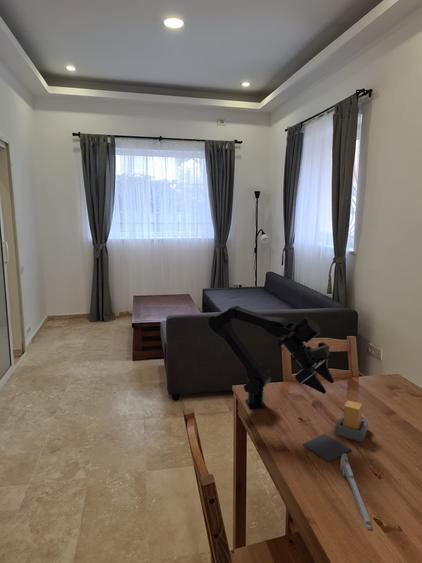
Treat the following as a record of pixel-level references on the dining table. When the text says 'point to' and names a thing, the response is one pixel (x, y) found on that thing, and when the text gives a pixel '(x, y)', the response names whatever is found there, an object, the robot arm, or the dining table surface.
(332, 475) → the dining table surface
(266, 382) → the robot arm
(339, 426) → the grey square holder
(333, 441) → the mat
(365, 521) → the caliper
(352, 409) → the block
